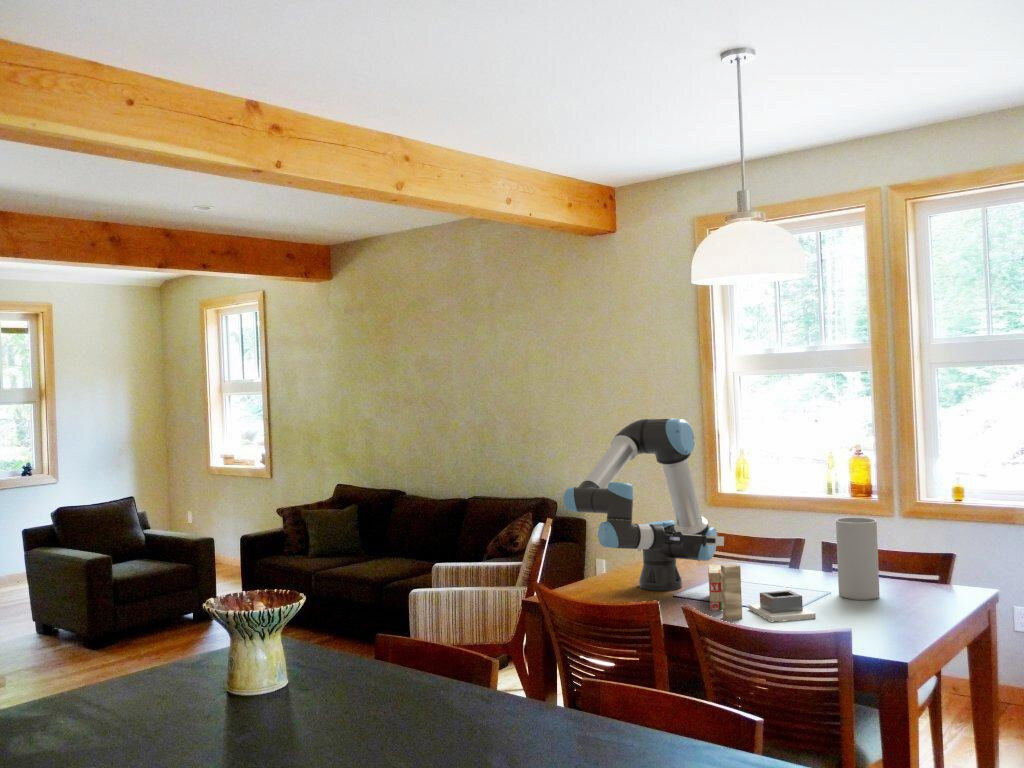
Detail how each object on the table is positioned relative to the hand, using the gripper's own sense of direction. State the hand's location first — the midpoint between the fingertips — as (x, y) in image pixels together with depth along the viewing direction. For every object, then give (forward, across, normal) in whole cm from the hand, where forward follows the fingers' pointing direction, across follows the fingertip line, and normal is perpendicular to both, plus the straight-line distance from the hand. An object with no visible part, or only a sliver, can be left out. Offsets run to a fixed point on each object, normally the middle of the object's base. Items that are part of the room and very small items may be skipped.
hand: (712, 540), depth 271 cm
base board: (+23, +3, -21) cm, 31 cm away
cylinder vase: (+58, -6, -16) cm, 60 cm away
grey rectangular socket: (+23, +3, -20) cm, 30 cm away
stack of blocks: (+13, -18, -21) cm, 30 cm away
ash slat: (+7, +1, -23) cm, 24 cm away
